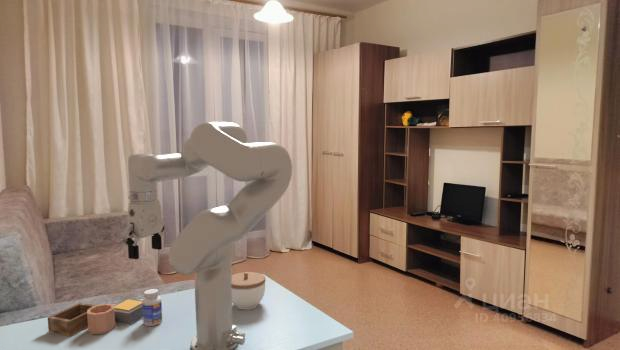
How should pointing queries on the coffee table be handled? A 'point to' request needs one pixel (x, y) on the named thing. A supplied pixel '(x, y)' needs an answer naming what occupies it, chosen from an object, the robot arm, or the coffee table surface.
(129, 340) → the coffee table surface
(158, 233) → the robot arm
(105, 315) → the octagonal terracotta pot
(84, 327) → the trough
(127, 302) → the pad
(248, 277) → the lidded bowl
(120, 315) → the grey square tray
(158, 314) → the pill bottle
